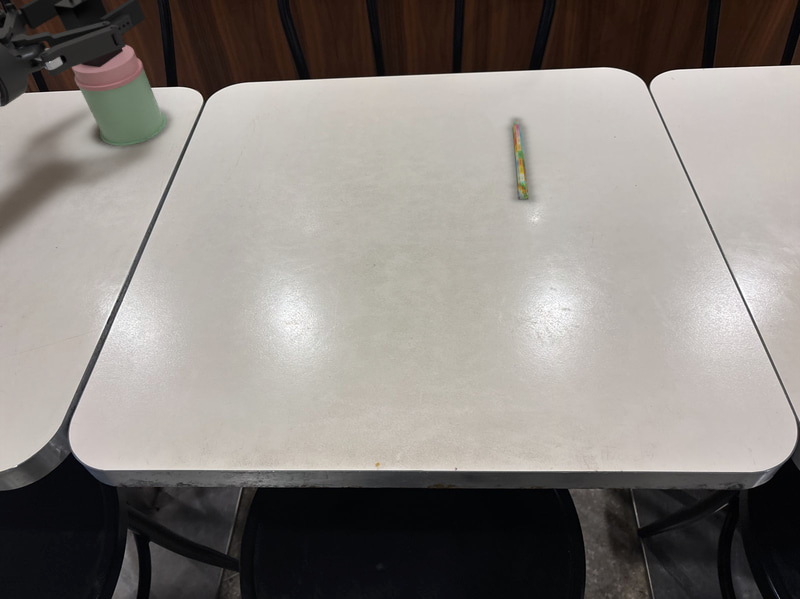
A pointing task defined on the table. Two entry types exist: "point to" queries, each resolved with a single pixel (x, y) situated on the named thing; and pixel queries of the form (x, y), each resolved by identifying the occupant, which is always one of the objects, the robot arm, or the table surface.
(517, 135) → the pencil
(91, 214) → the table surface
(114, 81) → the green canister pink lid
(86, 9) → the wall charger plug
